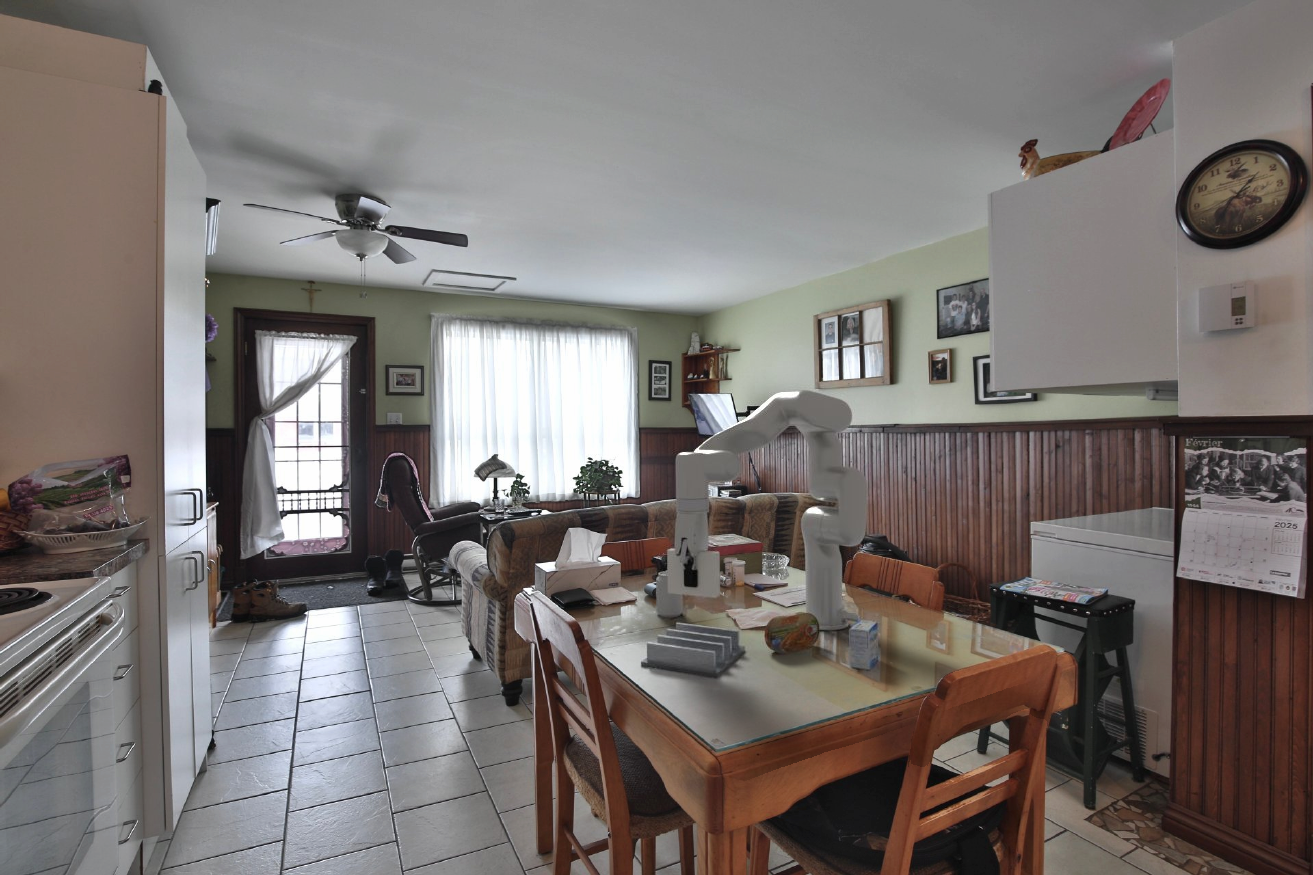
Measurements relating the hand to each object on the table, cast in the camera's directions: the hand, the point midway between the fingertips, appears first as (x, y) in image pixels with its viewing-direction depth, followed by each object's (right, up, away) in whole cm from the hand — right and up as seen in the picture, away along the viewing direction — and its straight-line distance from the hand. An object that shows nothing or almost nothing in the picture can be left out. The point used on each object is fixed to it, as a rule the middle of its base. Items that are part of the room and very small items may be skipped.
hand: (693, 584), depth 150 cm
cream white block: (0, -2, 0) cm, 2 cm away
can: (-5, -17, +36) cm, 40 cm away
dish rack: (0, -17, 0) cm, 17 cm away
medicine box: (+38, -17, -5) cm, 42 cm away
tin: (+24, -17, +5) cm, 30 cm away
